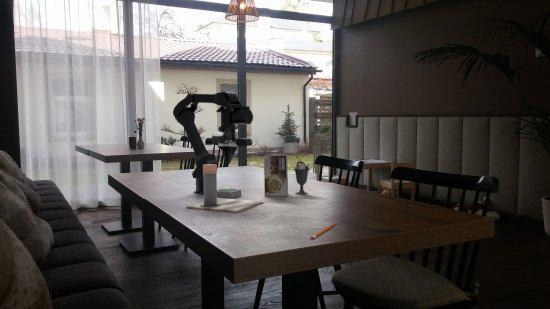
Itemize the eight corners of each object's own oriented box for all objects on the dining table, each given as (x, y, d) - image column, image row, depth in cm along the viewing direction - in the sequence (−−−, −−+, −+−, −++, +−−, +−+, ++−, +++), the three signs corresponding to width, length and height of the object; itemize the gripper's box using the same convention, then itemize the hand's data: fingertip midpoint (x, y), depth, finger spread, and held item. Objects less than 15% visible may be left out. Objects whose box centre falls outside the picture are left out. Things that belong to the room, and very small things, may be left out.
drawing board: (185, 208, 153) (185, 206, 153) (216, 199, 170) (216, 197, 170) (236, 213, 144) (236, 210, 144) (263, 203, 162) (263, 201, 161)
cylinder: (200, 205, 153) (200, 164, 152) (210, 203, 157) (210, 163, 156) (210, 207, 151) (209, 165, 150) (220, 205, 154) (219, 164, 153)
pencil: (310, 240, 113) (310, 237, 113) (335, 224, 129) (335, 221, 129) (313, 240, 112) (313, 237, 112) (338, 224, 129) (338, 221, 129)
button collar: (213, 197, 174) (212, 191, 173) (223, 194, 181) (223, 188, 181) (230, 198, 170) (230, 192, 170) (241, 195, 177) (241, 189, 177)
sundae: (290, 193, 183) (290, 156, 182) (304, 191, 186) (304, 155, 185) (298, 195, 177) (297, 157, 176) (312, 194, 180) (312, 156, 179)
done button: (219, 195, 174) (219, 188, 174) (225, 193, 178) (225, 187, 178) (229, 195, 172) (229, 189, 172) (235, 194, 176) (234, 187, 176)
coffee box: (288, 193, 181) (288, 153, 180) (287, 196, 175) (287, 155, 174) (265, 193, 182) (265, 153, 181) (263, 196, 176) (263, 155, 175)
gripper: (196, 124, 173) (196, 164, 174) (237, 124, 165) (237, 166, 166) (213, 123, 183) (213, 161, 184) (252, 124, 175) (252, 164, 176)
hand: (228, 163), depth 177 cm, fingers closed
